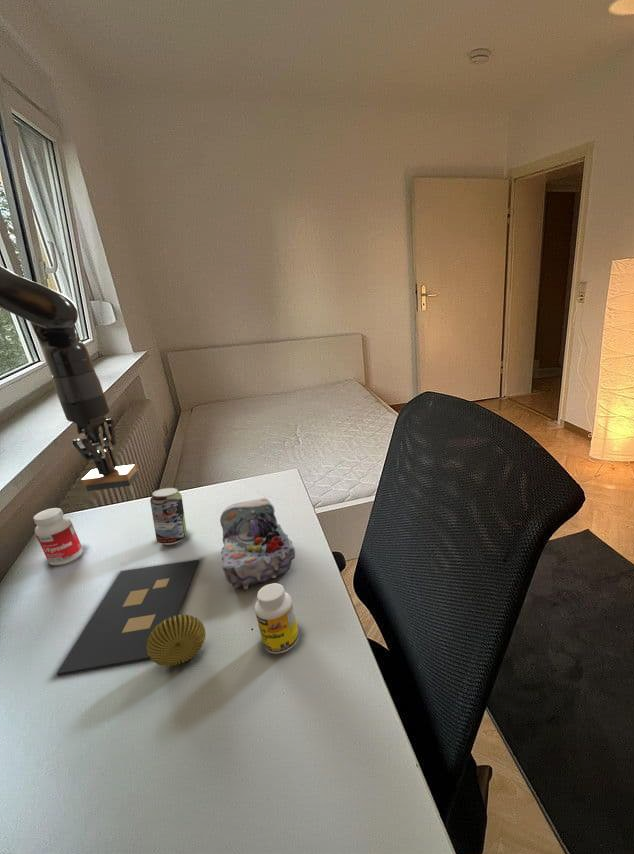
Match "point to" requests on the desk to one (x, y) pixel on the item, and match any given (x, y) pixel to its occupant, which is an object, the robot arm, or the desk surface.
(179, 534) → the beverage can
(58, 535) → the pill bottle
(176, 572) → the mat
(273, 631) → the supplement bottle
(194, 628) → the sculpture
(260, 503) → the cell model
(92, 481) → the brush
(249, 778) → the desk surface
